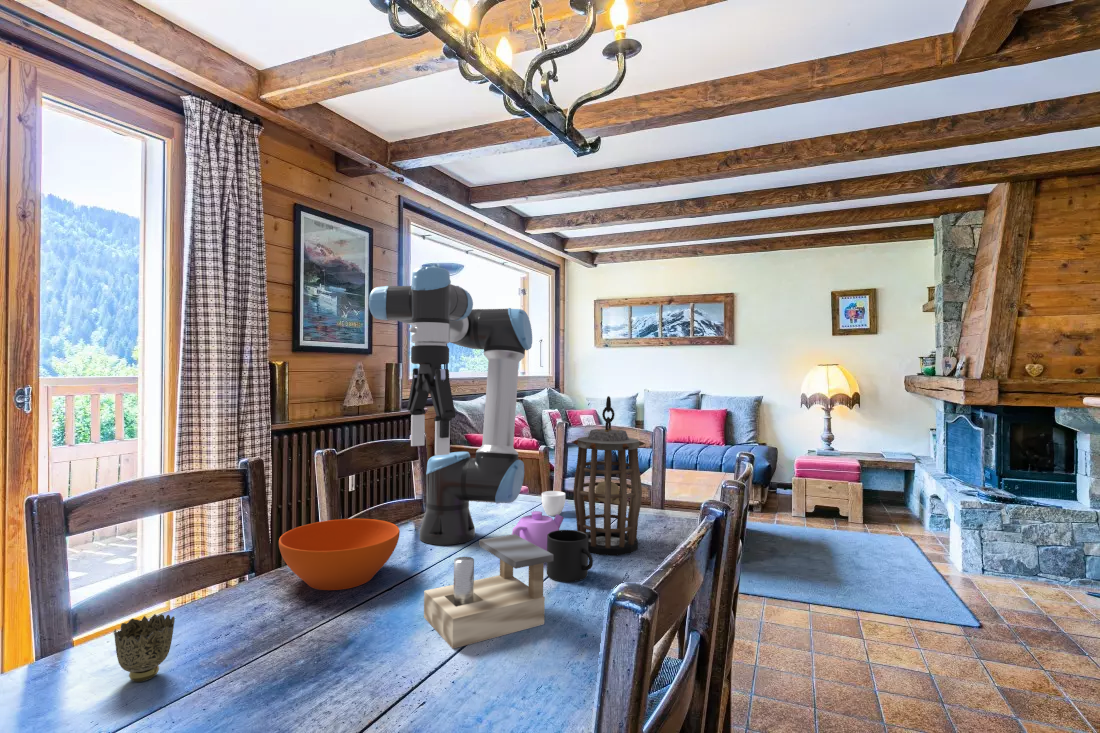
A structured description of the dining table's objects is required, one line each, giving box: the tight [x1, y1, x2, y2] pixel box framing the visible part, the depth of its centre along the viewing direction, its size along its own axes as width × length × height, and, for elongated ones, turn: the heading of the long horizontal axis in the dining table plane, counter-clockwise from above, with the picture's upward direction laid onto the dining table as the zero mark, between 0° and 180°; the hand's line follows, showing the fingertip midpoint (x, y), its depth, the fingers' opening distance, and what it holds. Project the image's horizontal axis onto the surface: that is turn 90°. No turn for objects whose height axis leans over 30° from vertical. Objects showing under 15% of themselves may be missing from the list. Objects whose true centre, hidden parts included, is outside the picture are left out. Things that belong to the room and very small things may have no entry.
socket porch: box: [423, 533, 554, 650], centre depth 106 cm, size 15×20×13 cm
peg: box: [453, 556, 475, 607], centre depth 104 cm, size 4×4×12 cm
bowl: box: [278, 518, 401, 591], centre depth 126 cm, size 25×25×10 cm
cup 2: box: [113, 613, 176, 683], centre depth 85 cm, size 8×7×8 cm
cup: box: [541, 490, 566, 517], centre depth 185 cm, size 8×10×7 cm
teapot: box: [511, 510, 564, 551], centre depth 145 cm, size 14×20×11 cm
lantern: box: [571, 395, 646, 557], centre depth 152 cm, size 19×19×40 cm
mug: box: [546, 529, 594, 583], centre depth 129 cm, size 9×12×9 cm
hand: (429, 450), depth 115 cm, fingers open, 13 cm apart
